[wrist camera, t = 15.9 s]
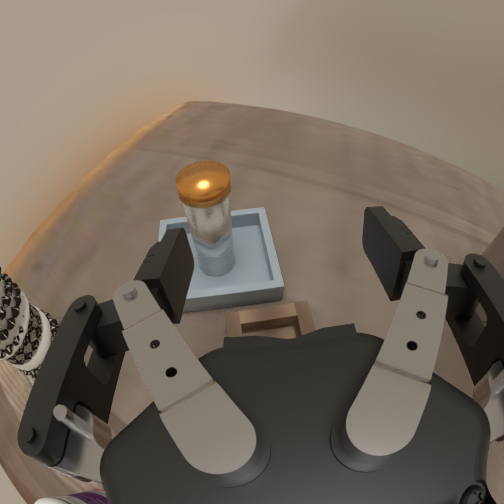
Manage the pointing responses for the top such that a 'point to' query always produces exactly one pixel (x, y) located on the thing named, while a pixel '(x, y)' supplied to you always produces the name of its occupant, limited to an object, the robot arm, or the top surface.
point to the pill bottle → (77, 498)
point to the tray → (236, 266)
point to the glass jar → (208, 214)
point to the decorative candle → (23, 329)
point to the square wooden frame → (271, 321)
